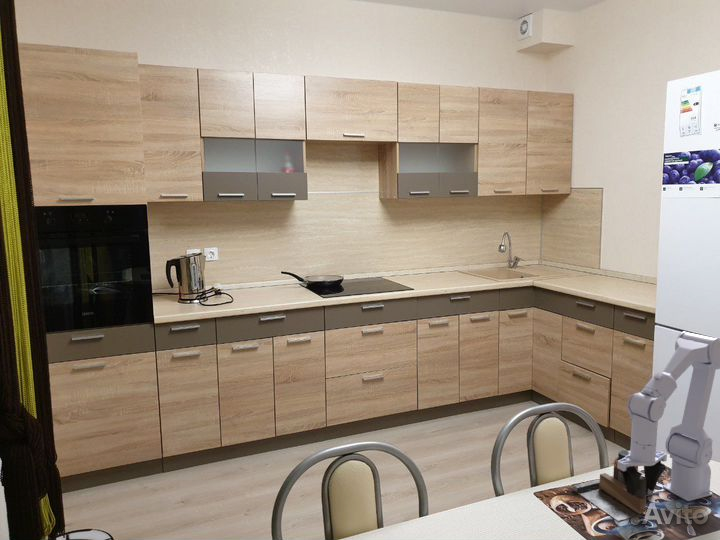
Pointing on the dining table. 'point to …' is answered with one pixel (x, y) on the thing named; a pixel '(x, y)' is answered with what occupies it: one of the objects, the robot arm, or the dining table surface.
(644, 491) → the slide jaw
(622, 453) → the supplement bottle
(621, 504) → the vice frame
